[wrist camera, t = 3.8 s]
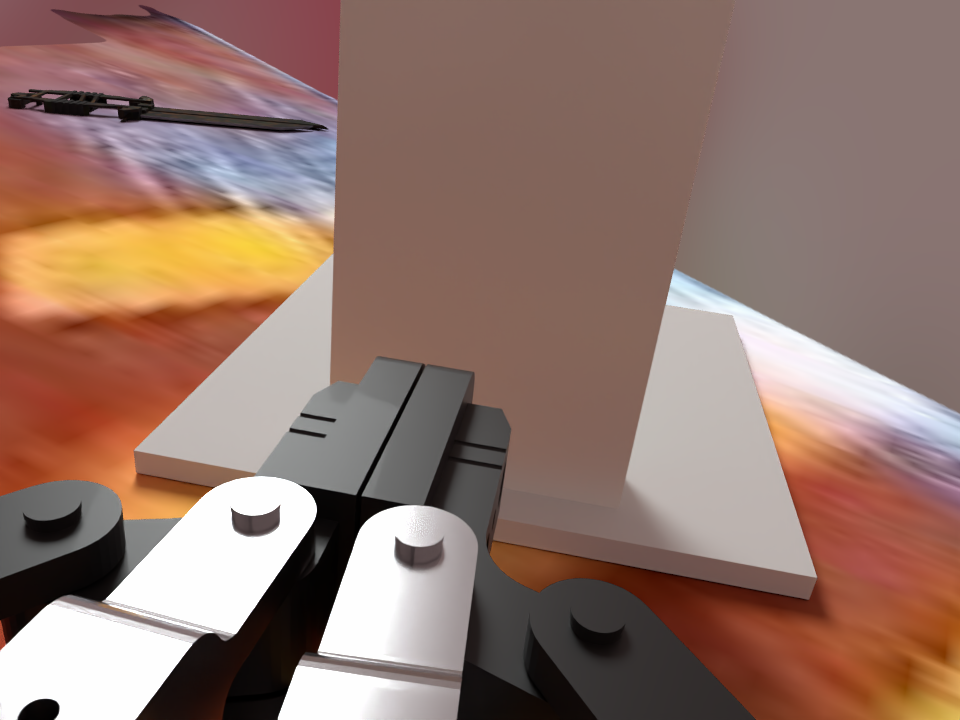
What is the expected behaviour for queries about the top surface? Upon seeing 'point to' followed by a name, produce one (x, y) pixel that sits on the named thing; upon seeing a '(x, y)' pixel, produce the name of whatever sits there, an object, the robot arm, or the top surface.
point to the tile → (521, 208)
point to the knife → (146, 110)
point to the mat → (531, 517)
